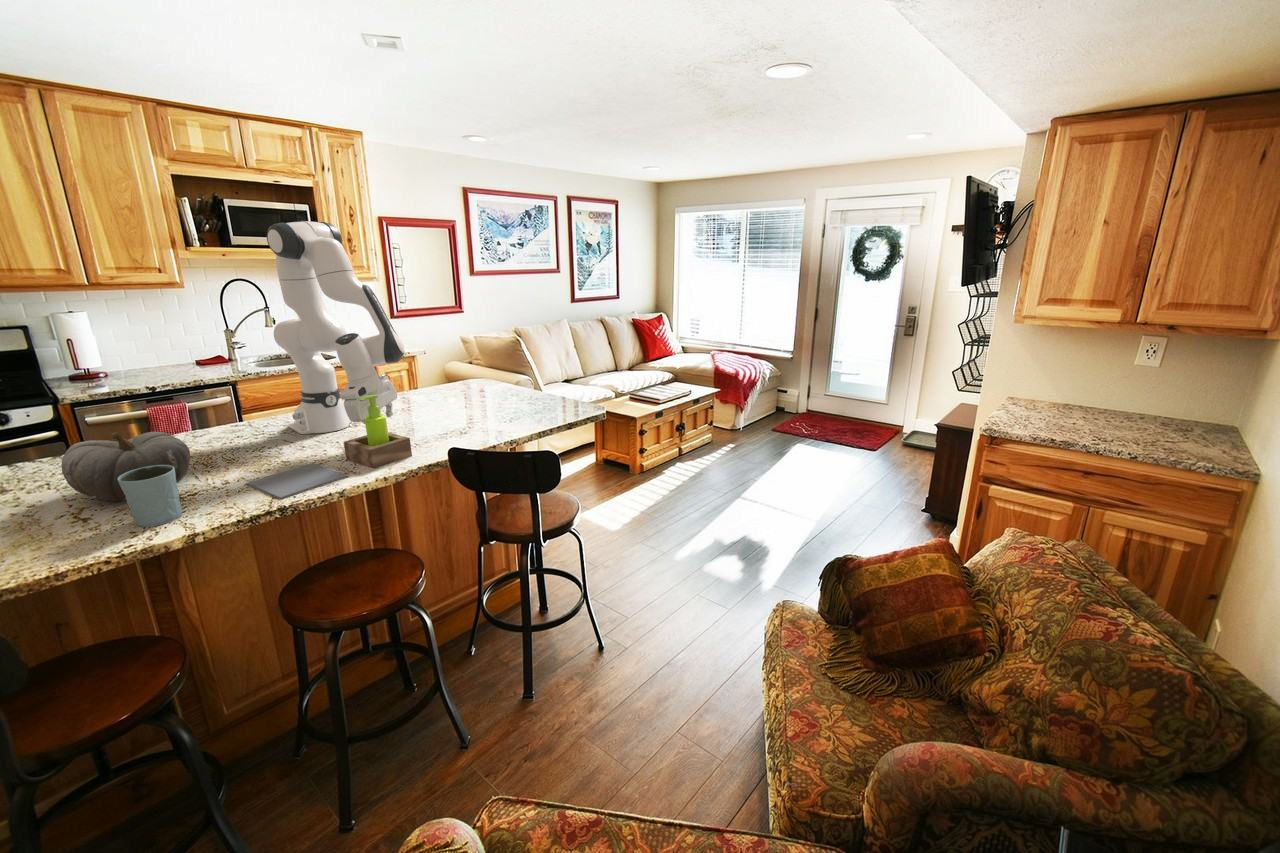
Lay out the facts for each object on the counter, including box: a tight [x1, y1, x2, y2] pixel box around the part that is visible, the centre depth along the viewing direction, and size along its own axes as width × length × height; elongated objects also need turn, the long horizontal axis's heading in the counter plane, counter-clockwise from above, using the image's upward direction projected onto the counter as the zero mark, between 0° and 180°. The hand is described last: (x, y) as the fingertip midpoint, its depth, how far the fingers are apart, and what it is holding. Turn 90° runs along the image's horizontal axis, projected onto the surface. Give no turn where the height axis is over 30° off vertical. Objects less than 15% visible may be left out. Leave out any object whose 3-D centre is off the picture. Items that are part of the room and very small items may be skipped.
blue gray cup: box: [117, 465, 183, 528], centre depth 130 cm, size 10×10×12 cm
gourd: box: [61, 431, 191, 502], centre depth 145 cm, size 25×25×17 cm
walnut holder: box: [343, 431, 413, 470], centre depth 170 cm, size 14×13×6 cm
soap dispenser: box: [358, 395, 389, 447], centre depth 168 cm, size 6×7×20 cm
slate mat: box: [246, 462, 348, 500], centre depth 154 cm, size 18×18×1 cm
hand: (381, 422), depth 183 cm, fingers open, 8 cm apart
